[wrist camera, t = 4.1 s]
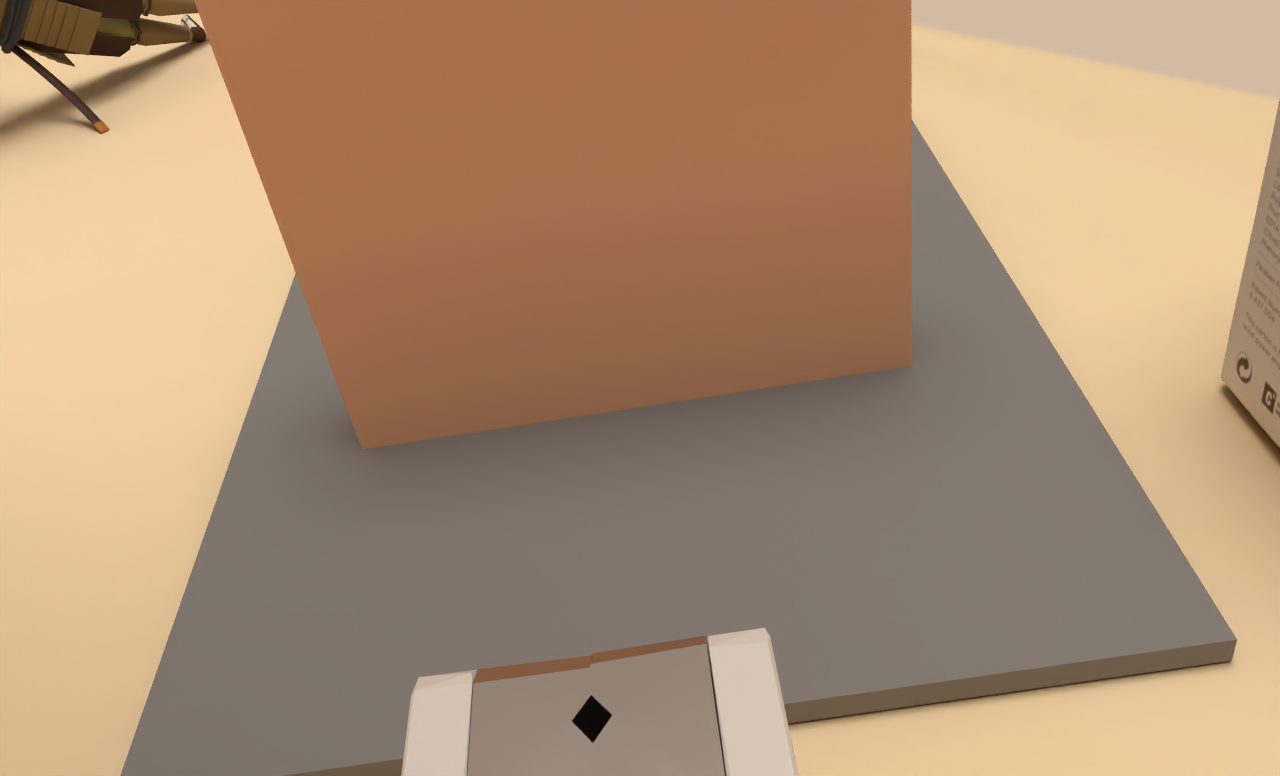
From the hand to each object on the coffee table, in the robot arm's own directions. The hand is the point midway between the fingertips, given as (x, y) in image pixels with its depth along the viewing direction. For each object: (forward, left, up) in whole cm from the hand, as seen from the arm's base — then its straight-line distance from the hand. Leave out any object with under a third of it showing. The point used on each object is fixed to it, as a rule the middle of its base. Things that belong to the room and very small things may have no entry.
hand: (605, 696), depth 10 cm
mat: (0, +16, -8) cm, 18 cm away
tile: (0, +14, -7) cm, 16 cm away
